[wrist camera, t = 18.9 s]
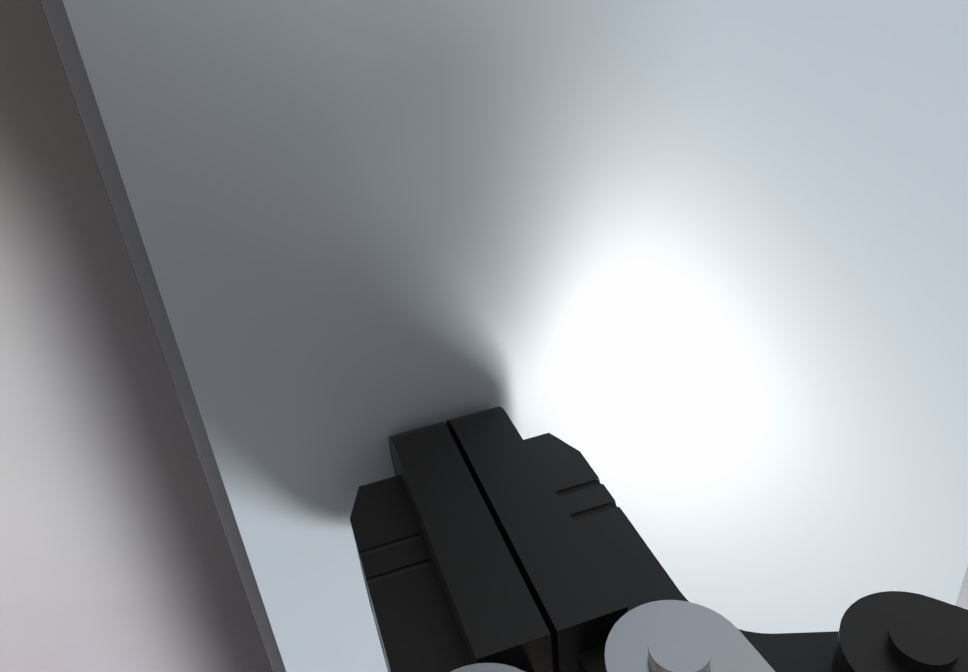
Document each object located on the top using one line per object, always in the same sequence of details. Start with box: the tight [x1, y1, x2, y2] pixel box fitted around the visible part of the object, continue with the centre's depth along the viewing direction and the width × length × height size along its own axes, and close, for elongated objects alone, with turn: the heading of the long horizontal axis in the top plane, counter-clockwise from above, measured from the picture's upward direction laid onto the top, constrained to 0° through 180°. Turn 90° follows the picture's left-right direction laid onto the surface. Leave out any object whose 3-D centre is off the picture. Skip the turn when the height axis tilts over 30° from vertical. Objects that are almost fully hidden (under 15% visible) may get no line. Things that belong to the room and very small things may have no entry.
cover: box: [63, 0, 968, 672], centre depth 12 cm, size 13×24×1 cm, turn 5°
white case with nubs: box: [40, 0, 286, 672], centre depth 14 cm, size 13×24×4 cm, turn 5°
